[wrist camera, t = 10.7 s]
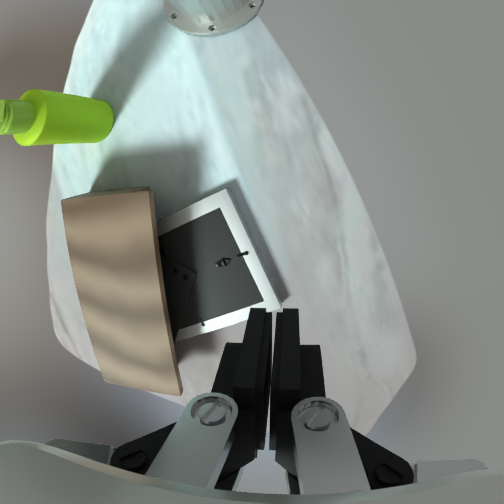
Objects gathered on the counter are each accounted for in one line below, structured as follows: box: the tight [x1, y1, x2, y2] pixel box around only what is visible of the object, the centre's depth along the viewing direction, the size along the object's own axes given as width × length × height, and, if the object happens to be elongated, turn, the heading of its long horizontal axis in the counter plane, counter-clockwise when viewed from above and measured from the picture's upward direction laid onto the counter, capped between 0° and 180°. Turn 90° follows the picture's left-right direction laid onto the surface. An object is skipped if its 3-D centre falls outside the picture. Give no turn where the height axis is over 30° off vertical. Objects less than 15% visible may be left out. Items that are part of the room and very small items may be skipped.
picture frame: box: [156, 187, 282, 344], centre depth 39 cm, size 16×3×21 cm
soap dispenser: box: [0, 89, 114, 146], centre depth 25 cm, size 6×7×20 cm
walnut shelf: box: [61, 187, 183, 396], centre depth 38 cm, size 27×12×6 cm, turn 2°
